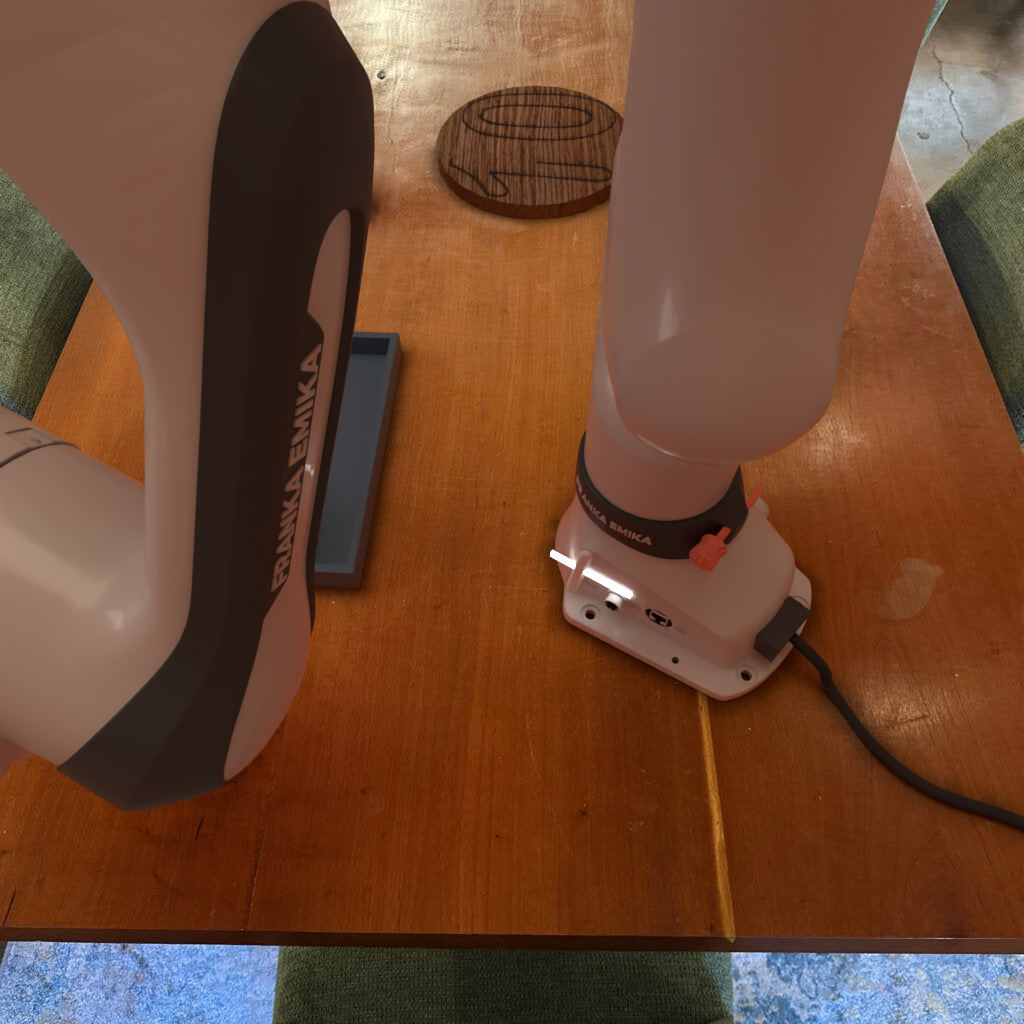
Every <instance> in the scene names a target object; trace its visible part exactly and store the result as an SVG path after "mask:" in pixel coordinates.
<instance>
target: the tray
mask: <svg viewBox="0 0 1024 1024" xmlns="http://www.w3.org/2000/svg"><path fill="white" fill-rule="evenodd" d="M401 342H402V341H401V338H400V333H399V332H382V331H357V330H356V331H355V330H354V335H353V341H352V347H351V353H350V359H349V364H348V370H347V376H346V382H345V388H344V394H343V400H342V406H341V411H340V417H339V423H338V429H337V434H336V440H335V446H334V452H333V458H332V463H331V469H330V474H329V480H328V486H327V491H326V497H325V503H324V508H323V514H322V520H321V526H320V533H319V539H318V545H317V552H316V560H315V588H332V589H333V588H334V589H335V588H337V589H353V590H354V589H355V590H356V589H357V590H359V589H360V588H361V584H362V577H363V573H364V567H365V562H366V556H367V552H368V551H367V550H368V546H369V545H368V544H369V540H370V534H371V530H372V529H371V528H372V524H373V518H374V513H375V507H376V500H377V495H378V492H379V491H378V490H379V485H380V479H381V473H382V468H383V463H384V459H385V452H386V447H387V442H388V435H389V430H390V424H391V420H392V414H393V408H394V403H395V398H396V392H397V386H398V381H399V375H400V369H401V365H402V358H403V353H404V352H403V348H402V343H401Z"/></svg>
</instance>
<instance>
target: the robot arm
mask: <svg viewBox="0 0 1024 1024" xmlns="http://www.w3.org/2000/svg"><path fill="white" fill-rule="evenodd" d="M936 3H937V0H634V7H633V17H632V19H633V21H632V28H631V29H632V30H631V42H630V51H629V62H628V73H627V82H626V92H625V101H624V111H623V119H624V120H623V130H622V132H621V135H620V139H619V142H618V145H617V148H616V152H615V157H614V163H613V173H612V182H611V192H610V197H609V202H608V213H607V223H606V235H605V245H604V255H603V263H602V265H603V266H602V274H601V285H600V293H599V294H600V295H599V306H598V315H597V326H596V335H595V346H594V356H593V367H592V377H591V386H590V395H589V402H588V403H589V404H588V413H587V421H586V428H585V430H584V432H583V435H582V436H581V439H580V442H579V447H578V451H577V458H576V464H575V465H576V466H575V473H574V484H575V495H574V497H573V499H572V502H571V504H570V505H569V507H568V508H567V509H566V510H565V512H564V514H562V517H561V519H560V521H559V523H558V527H557V529H556V534H555V540H554V549H552V550H551V551H550V554H549V555H550V556H549V557H551V558H552V559H554V560H556V563H557V567H558V569H559V572H560V576H561V578H562V582H563V587H564V588H563V595H562V615H563V617H564V619H565V620H566V622H568V623H569V624H570V625H572V626H574V627H576V628H578V629H580V630H582V631H583V632H585V633H586V634H589V635H591V636H593V637H594V638H597V639H599V640H601V641H603V642H605V643H606V644H608V645H610V646H612V647H614V648H615V649H618V650H620V651H621V652H623V653H625V654H628V655H629V656H631V657H633V658H635V659H636V660H638V661H641V662H642V663H645V664H646V665H648V666H650V667H652V668H654V669H657V670H658V671H660V672H662V673H664V674H666V675H668V676H670V677H671V678H674V679H675V680H677V681H679V682H681V683H683V684H685V685H687V686H688V687H691V688H693V689H694V690H696V691H699V692H700V693H702V694H704V695H706V696H707V697H710V698H712V699H714V700H716V701H720V702H728V701H730V700H734V699H737V698H740V697H742V696H744V695H746V694H748V693H750V692H751V691H753V690H755V689H756V688H757V687H759V686H760V685H761V684H763V683H764V682H765V681H766V680H768V678H769V677H770V676H771V675H773V673H774V672H775V671H776V670H777V669H778V668H779V667H780V665H781V664H782V663H783V662H784V660H785V659H786V658H787V656H788V655H789V653H790V652H791V651H792V649H793V648H795V649H796V650H797V651H798V652H799V653H800V654H801V655H802V656H803V657H804V658H806V659H807V661H809V663H810V664H811V665H812V666H813V667H814V668H815V670H816V672H818V674H819V680H820V684H821V685H822V688H823V689H824V691H825V692H826V694H827V695H828V697H829V698H830V700H831V701H832V703H833V705H834V706H835V708H836V709H837V710H838V712H839V713H840V714H841V716H842V717H843V719H844V720H845V721H846V722H847V724H848V725H849V727H850V728H851V730H852V731H853V732H854V733H855V735H856V736H857V737H858V738H859V740H860V741H861V742H862V743H863V744H864V745H865V746H866V747H867V749H868V750H869V751H871V753H872V754H873V755H874V756H875V757H876V758H877V759H878V760H879V761H880V762H882V763H883V764H884V765H885V766H886V767H887V768H889V770H891V771H892V772H893V773H895V774H896V775H897V776H899V778H901V779H902V780H903V781H905V782H906V783H908V784H910V785H911V786H912V787H914V788H916V789H918V790H919V791H921V792H923V793H924V794H926V795H928V796H930V797H932V798H933V799H935V800H938V801H941V802H943V803H945V804H948V805H950V806H953V807H956V808H959V809H962V810H965V811H969V812H971V813H975V814H977V815H980V816H984V817H987V818H991V819H994V820H997V821H1000V822H1003V823H1005V824H1008V825H1010V826H1014V827H1016V828H1018V829H1021V830H1023V831H1024V816H1022V815H1021V814H1018V813H1015V812H1012V811H1010V810H1007V809H1005V808H1001V807H999V806H995V805H992V804H989V803H985V802H982V801H980V800H976V799H973V798H970V797H966V796H963V795H960V794H957V793H954V792H952V791H949V790H947V789H945V788H942V787H939V786H938V785H936V784H934V783H932V782H930V781H928V780H927V779H925V778H923V777H921V776H919V775H918V774H917V773H915V772H914V771H912V770H911V769H909V768H908V767H907V766H905V765H904V764H903V763H902V762H901V761H899V760H898V759H897V758H896V757H895V756H893V755H892V754H891V753H890V752H888V751H887V750H886V749H885V748H884V747H883V745H881V743H879V742H878V741H877V739H876V738H874V736H873V735H872V734H871V733H870V732H869V731H868V730H867V728H866V727H865V725H863V723H862V722H861V721H860V719H859V718H858V717H857V715H856V714H855V713H854V711H853V710H852V709H851V707H850V706H849V704H848V703H847V701H846V699H845V698H844V697H843V696H842V693H841V692H840V691H839V689H838V688H837V686H836V685H835V683H834V681H833V673H832V670H831V669H830V667H829V665H828V664H827V662H826V661H825V660H824V659H823V658H822V656H821V655H820V654H819V653H818V652H817V651H816V650H815V649H814V648H813V647H812V646H811V645H810V644H808V643H807V641H806V640H805V639H804V638H802V637H801V636H800V635H801V634H802V631H803V629H804V627H805V625H806V623H807V620H808V618H809V617H810V616H811V614H812V613H813V611H812V610H811V605H812V584H811V581H810V580H809V578H808V577H807V576H806V575H805V574H804V573H803V572H802V571H800V569H799V568H798V567H797V566H796V560H795V556H794V555H795V554H794V552H793V550H792V548H791V547H790V545H789V544H788V543H787V542H786V540H785V539H784V538H783V537H782V536H781V535H780V533H779V532H778V531H777V529H776V528H775V527H774V526H773V525H772V523H771V522H770V521H769V520H768V518H769V516H770V513H771V512H770V507H769V505H768V503H766V501H765V500H764V499H763V498H761V497H760V495H761V492H762V490H763V487H764V485H765V483H764V482H763V481H761V482H760V483H759V484H758V485H757V487H756V488H755V489H754V490H752V493H751V494H750V495H748V494H747V493H746V492H745V484H744V479H743V473H742V472H743V471H742V468H741V464H746V463H750V462H754V461H758V460H761V459H763V458H767V457H769V456H771V455H774V454H775V453H778V452H780V451H783V450H784V449H786V448H787V447H789V446H791V445H793V444H794V443H795V442H797V441H798V440H799V439H801V438H802V437H804V436H805V435H806V434H808V433H809V432H810V431H811V430H812V429H814V427H815V426H816V425H817V424H818V423H819V422H820V421H821V419H822V418H823V417H824V416H825V414H826V412H827V411H828V409H829V407H830V405H831V403H832V399H833V396H834V391H835V385H836V379H837V375H838V369H839V368H838V367H839V361H840V355H841V349H842V342H843V336H844V332H845V326H846V320H847V316H848V311H849V307H850V302H851V298H852V293H853V291H854V286H855V283H856V280H857V277H858V273H859V269H860V265H861V262H862V258H863V255H864V252H865V249H866V245H867V242H868V239H869V236H870V232H871V230H872V226H873V222H874V219H875V215H876V212H877V208H878V204H879V201H880V197H881V193H882V190H883V187H884V183H885V179H886V175H887V173H888V172H887V171H888V168H889V163H890V160H891V156H892V152H893V148H894V144H895V141H896V136H897V132H898V128H899V123H900V119H901V117H902V116H901V115H902V112H903V108H904V103H905V100H906V96H907V92H908V89H909V86H910V82H911V78H912V75H913V71H914V68H915V65H916V61H917V57H918V54H919V51H920V48H921V45H922V42H923V40H924V36H925V34H926V30H927V27H928V25H929V22H930V19H931V16H932V13H933V12H934V8H935V6H936ZM375 136H376V134H375V104H374V93H373V88H372V84H371V80H370V78H369V75H368V72H367V70H366V68H365V67H364V66H363V64H362V61H360V59H359V57H358V55H357V53H356V51H354V48H353V47H352V45H351V43H350V41H349V40H348V39H347V37H346V35H345V33H344V32H343V30H342V29H341V27H340V26H339V24H338V22H337V21H336V19H335V17H333V13H332V9H331V4H330V0H0V170H1V171H2V172H3V173H4V174H5V175H6V176H7V177H8V178H9V179H10V180H11V181H12V183H13V184H14V185H15V186H16V187H17V188H18V190H19V191H20V192H22V193H23V195H24V196H25V197H26V198H27V199H28V200H29V202H30V203H31V204H32V205H33V206H34V208H36V209H37V211H38V212H39V213H40V214H41V215H42V217H43V218H44V219H45V220H46V221H47V222H48V223H49V225H50V226H51V227H52V228H53V229H54V230H55V232H56V233H57V234H58V235H59V236H60V237H61V239H62V240H63V241H64V242H65V244H66V245H67V246H68V247H69V249H70V250H71V251H72V252H73V254H74V255H75V256H76V258H77V259H78V261H80V263H81V264H82V265H83V266H84V268H85V269H86V270H87V272H88V273H89V276H90V277H91V278H92V279H93V281H94V282H95V284H96V285H97V287H98V288H99V290H100V291H101V292H102V295H103V296H104V297H105V299H106V300H107V302H108V303H109V305H110V307H111V309H112V310H113V312H114V314H115V316H116V318H117V321H118V322H119V323H120V325H121V327H122V329H123V331H124V333H125V335H126V338H127V341H128V342H129V345H130V347H131V350H132V352H133V354H134V357H135V360H136V363H137V367H138V371H139V375H140V379H141V383H142V390H143V399H144V400H143V403H144V405H143V407H144V410H143V411H144V412H143V413H144V415H143V416H144V417H143V419H144V421H143V422H144V423H143V424H144V483H142V482H140V481H139V480H138V479H136V478H134V477H131V476H129V475H128V474H126V473H124V472H122V471H120V470H118V469H117V468H115V467H112V466H111V465H109V464H107V463H105V462H103V461H102V460H100V459H97V458H96V457H94V456H92V455H91V454H89V453H87V452H85V451H83V450H82V449H81V447H78V446H77V445H76V444H74V443H72V442H70V441H69V440H67V439H65V438H63V437H61V436H59V435H58V434H56V433H54V432H52V431H51V430H48V429H46V428H45V427H43V426H41V425H39V424H38V423H36V422H33V421H32V420H31V419H28V418H26V417H24V416H23V415H21V414H19V413H17V412H16V411H15V412H14V411H12V410H11V409H9V408H8V407H5V406H3V405H1V404H0V783H1V782H2V781H3V780H4V777H5V776H6V775H7V773H8V772H9V769H10V768H11V766H12V765H16V764H18V763H21V762H23V761H26V760H28V759H31V758H32V757H35V756H38V757H39V758H41V759H44V760H45V761H48V762H49V763H52V764H54V765H56V771H57V772H59V773H61V774H62V775H63V776H66V777H67V778H69V779H70V780H72V781H74V782H76V783H77V784H78V785H80V786H82V787H83V788H85V789H86V790H88V791H90V792H91V793H93V794H94V795H96V796H98V797H100V798H101V799H102V800H104V801H106V802H107V803H109V804H110V805H112V806H114V807H116V808H117V809H119V810H120V811H122V812H124V813H132V812H139V811H144V810H150V809H155V808H159V807H163V806H164V807H165V806H168V805H172V804H177V803H180V802H181V803H182V802H185V801H188V800H191V799H195V798H198V797H202V796H204V795H207V794H210V793H213V792H215V791H216V792H217V791H218V790H221V789H224V788H226V787H228V786H229V785H231V784H232V783H233V782H234V781H235V780H236V779H237V778H238V776H239V775H240V774H242V772H243V770H244V769H246V767H247V766H249V765H250V764H251V762H253V761H254V759H255V758H256V757H257V756H258V755H259V754H260V753H261V752H262V751H263V750H264V748H265V747H266V746H267V744H268V743H269V742H270V740H271V739H272V738H273V736H274V735H275V733H277V732H276V731H277V730H278V729H279V727H280V726H281V724H282V722H283V721H284V719H285V717H286V716H287V714H288V712H289V710H290V708H291V706H292V704H293V702H294V700H295V698H296V695H297V693H298V691H299V689H300V687H301V683H302V680H303V678H304V675H305V671H306V668H307V664H308V659H309V654H310V647H311V639H312V634H313V631H314V626H315V620H316V610H317V609H316V587H315V560H316V552H317V545H318V539H319V533H320V526H321V520H322V514H323V508H324V503H325V497H326V491H327V486H328V480H329V474H330V469H331V463H332V458H333V452H334V446H335V440H336V434H337V429H338V423H339V417H340V411H341V406H342V400H343V394H344V388H345V382H346V376H347V370H348V364H349V359H350V353H351V347H352V341H353V335H354V331H355V327H356V323H357V316H358V315H357V314H358V310H359V309H358V307H359V301H360V294H361V287H362V281H363V273H364V266H365V259H366V251H367V245H368V236H369V235H368V234H369V228H370V220H371V219H370V218H371V211H372V210H371V209H372V202H373V201H372V200H373V189H374V171H375V153H376V152H375V149H376V146H375V145H376V143H375V142H376V139H375V138H376V137H375ZM589 614H590V615H593V617H594V618H592V619H591V618H588V617H586V615H589ZM673 661H674V662H675V663H674V662H673ZM742 674H745V675H747V676H748V678H749V680H745V679H744V678H743V677H742Z"/></svg>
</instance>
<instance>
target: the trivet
mask: <svg viewBox="0 0 1024 1024" xmlns="http://www.w3.org/2000/svg"><path fill="white" fill-rule="evenodd" d="M623 120H624V117H622V114H620V113H619V111H617V110H616V109H614V108H613V107H611V106H610V105H608V104H607V103H606V102H605V101H603V100H601V99H599V98H596V97H595V96H592V95H589V94H588V93H584V92H582V91H577V90H573V89H569V88H566V87H565V88H564V87H561V86H546V85H525V86H524V85H523V86H512V87H506V88H503V89H499V90H494V91H490V92H487V93H485V94H483V95H480V96H478V97H476V98H473V99H470V100H468V101H467V102H466V103H464V104H462V106H460V107H459V108H457V109H455V110H454V111H453V112H452V113H451V114H450V115H449V117H448V118H447V119H446V120H445V121H444V123H443V124H442V125H441V127H440V130H439V132H438V135H437V139H436V141H435V144H436V151H437V152H436V153H437V160H438V163H437V164H438V171H439V173H440V175H441V177H442V179H443V180H444V183H445V184H446V186H447V187H448V188H449V189H450V190H451V191H452V192H454V193H455V194H456V195H457V196H458V197H459V198H460V199H461V200H462V201H464V202H466V203H468V204H469V205H472V206H474V207H476V208H478V209H479V210H482V211H485V212H488V213H492V214H495V215H499V216H502V217H506V218H517V219H527V220H539V219H551V218H562V217H566V216H569V215H573V214H576V213H580V212H583V211H587V210H589V209H590V208H593V207H595V206H597V205H599V204H601V203H602V202H604V201H607V200H608V199H610V192H611V182H612V173H613V163H614V157H615V152H616V148H617V145H618V142H619V139H620V135H621V132H622V130H623Z"/></svg>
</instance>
